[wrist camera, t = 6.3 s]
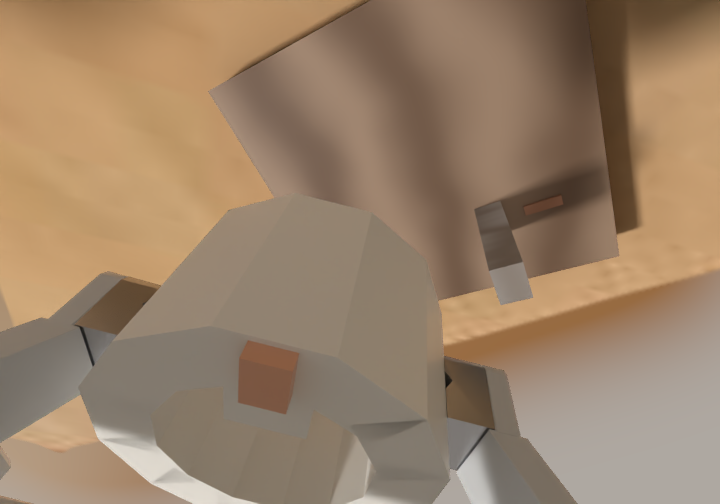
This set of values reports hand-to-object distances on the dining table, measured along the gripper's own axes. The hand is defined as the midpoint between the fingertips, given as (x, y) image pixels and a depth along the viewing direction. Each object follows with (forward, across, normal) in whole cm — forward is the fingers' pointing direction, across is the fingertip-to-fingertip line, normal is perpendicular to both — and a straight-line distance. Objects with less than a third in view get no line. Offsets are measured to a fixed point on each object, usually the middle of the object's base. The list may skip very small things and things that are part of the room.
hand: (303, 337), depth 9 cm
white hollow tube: (+1, 0, 0) cm, 1 cm away
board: (+16, -3, +1) cm, 17 cm away
